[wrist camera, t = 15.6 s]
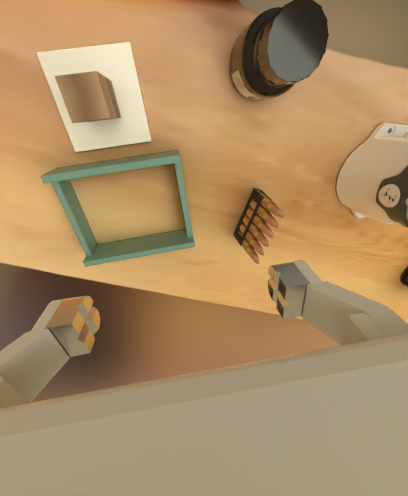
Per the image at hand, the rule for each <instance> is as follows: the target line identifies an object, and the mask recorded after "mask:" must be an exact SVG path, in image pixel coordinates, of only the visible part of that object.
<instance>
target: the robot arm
mask: <svg viewBox="0 0 408 496" xmlns="http://www.w3.org/2000/svg"><path fill="white" fill-rule="evenodd" d="M388 130H389V131H388ZM336 189H337V195H338V198H339V200H340V201H341V203H342V204H343V205H345V206H346V207H348V208H350V209H351V211H352V213H353V215H354V216H355V217H357V218H364V217H369V218H372V219H375V220H377V221H380V222H383V223H385V224H391V223H395V222H396V223H398V224H399V225H401V226H404V227H407V228H408V125H405V124H395V123H381V124H380V125H379V126H378V127H377V128H376V129H375V130H374V131H373V133H372V134H371V136H370V137H369V138H368V139H367V140H366V141H365V142H364V143H363V144H361V145H360V146H359V147H358V148H357V149H355V150H354V151H353V152H352V154H351V155H350V156H349V157H348V158H347V160H346V161H345V163H344V164H343V166H342V168H341V170H340V173H339V176H338V179H337V187H336ZM268 273H269V275H270V279H269V280H268V290H269V294H270V296H271V298H272V300H273V301H275V302H276V303H277V307H276V308H277V309H278V311H279V313H280V315H281V317H282V318H283V319H286V318H293V317H300V316H302V318H304V319H305V320H306V321H308V322H309V323H311V324H312V325H314V326H315V327H316V328H318V329H319V330H321V331H322V332H324V333H325V334H327V335H328V336H329V337H331V338H332V339H333V340H335V341H336V342H338V343H339V344H340V346H338V347H332V348H327V349H322V350H316V351H310V352H305V353H300V354H294V355H288V356H283V357H277V358H272V359H267V360H261V361H256V362H251V363H245V364H239V365H235V366H229V367H223V368H218V369H212V370H207V371H201V372H197V373H191V374H185V375H180V376H175V377H169V378H163V379H158V380H152V381H147V382H141V383H136V384H130V385H125V386H119V387H114V388H108V389H103V390H98V391H92V392H87V393H82V394H76V395H70V396H65V397H59V398H54V399H49V400H43V401H38V402H32V403H31V401H32V400H33V399H34V398H35V397H36V396H37V395H38V394H39V392H40V391H41V390H42V389H43V388H44V387H45V386H46V384H47V383H48V382H49V381H50V380H51V379H52V378H53V376H54V375H55V374H56V373H57V372H58V371H59V370H60V368H61V367H62V366H63V365H64V364H65V363H66V362H67V360H68V359H69V357H72V356H77V355H82V354H87V353H90V352H91V349H92V346H93V343H94V340H95V338H94V336H93V334H95V333H96V331H97V330H98V329H99V325H100V316H99V312H98V310H97V309H96V308H94V307H92V304H93V301H92V299H91V297H90V296H82V297H75V298H68V299H61V300H55V301H52V302H50V303H49V304H48V306H47V307H46V309H45V310H44V312H43V314H42V315H41V317H40V318H39V320H38V321H37V323H36V324H35V326H34V327H33V329H32V330H31V331H30V332H26V333H25V334H23V335H22V336H21V337H19V338H18V339H17V340H16V341H14V342H13V343H11V344H10V345H8V346H7V347H6V348H4V349H3V350H2V351H0V496H408V324H407V323H406V322H405V321H404V320H403V319H402V318H400V317H399V316H398V315H397V314H396V313H395V312H394V311H393V310H391V309H390V308H389V307H387V306H385V305H382V304H380V303H378V302H375V301H373V300H370V299H368V298H365V297H363V296H361V295H358V294H356V293H353V292H351V291H349V290H346V289H344V288H341V287H339V286H336V285H334V284H332V283H329V282H327V281H326V282H323V281H322V280H321V279H320V278H319V277H318V276H317V275H316V273H315V272H314V271H313V270H312V269H311V268H310V267H309V266H308V265H307V264H306V262H305V261H303V260H299V261H294V262H290V263H284V264H278V265H272V266H270V267H269V272H268Z"/></svg>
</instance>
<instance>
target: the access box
mask: <svg viewBox="0 0 408 496" xmlns="http://www.w3.org/2000/svg"><path fill="white" fill-rule="evenodd" d="M173 163H174V164H175V170H176V175H177V181H178V187H179V192H180V198H181V203H182V209H183V215H184V220H185V226H186V229H183V230H178V231H172V232H166V233H160V234H155V235H149V236H143V237H137V238H132V239H126V240H120V241H115V242H109V243H103V244H97V243H96V240H95V238H94V236H93V233H92V231H91V229H90V226H89V224H88V222H87V219H86V217H85V215H84V212H83V210H82V208H81V205H80V203H79V201H78V198H77V196H76V194H75V192H74V189H73V187H72V185H71V182H70V180H69V179H75V178H81V177H88V176H94V175H101V174H108V173H114V172H121V171H127V170H134V169H140V168H147V167H153V166H160V165H166V164H173ZM40 177H41V179H42V181H43V183H49V182H51V183H52V185H53V187H54V190H55V192H56V194H57V196H58V198H59V200H60V202H61V204H62V206H63V208H64V210H65V213H66V215H67V217H68V219H69V221H70V223H71V225H72V227H73V229H74V231H75V234H76V236H77V238H78V240H79V242H80V244H81V246H82V248H83V250H84V252H85V254H86V258H85V259H84V261H83V263H84V265H85V267H86V266H92V265H97V264H103V263H108V262H114V261H119V260H125V259H130V258H136V257H142V256H147V255H153V254H158V253H164V252H169V251H175V250H180V249H186V248H191V247H195V244H194V239H193V234H192V228H191V222H190V216H189V210H188V204H187V198H186V191H185V185H184V179H183V173H182V167H181V158H180V154H179V151H178V150H174V151H167V152H161V153H154V154H147V155H141V156H134V157H127V158H120V159H114V160H107V161H100V162H94V163H87V164H80V165H74V166H67V167H60V168H56V169H54V170H52V171H50V172H48V173H46V174H44V175H42V176H40Z"/></svg>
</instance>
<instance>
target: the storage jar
mask: <svg viewBox="0 0 408 496" xmlns="http://www.w3.org/2000/svg"><path fill="white" fill-rule="evenodd" d="M401 282H402V283H403V284H404V285H406V286H407V287H408V267H407V268H406V269H405V270H404V271H403V273H402V275H401Z"/></svg>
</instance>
